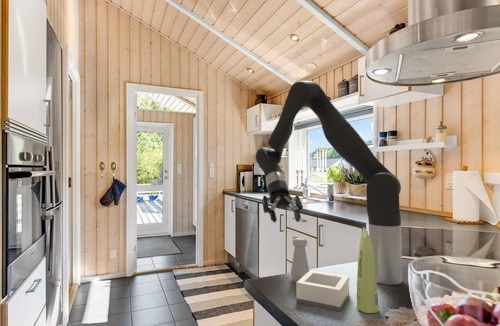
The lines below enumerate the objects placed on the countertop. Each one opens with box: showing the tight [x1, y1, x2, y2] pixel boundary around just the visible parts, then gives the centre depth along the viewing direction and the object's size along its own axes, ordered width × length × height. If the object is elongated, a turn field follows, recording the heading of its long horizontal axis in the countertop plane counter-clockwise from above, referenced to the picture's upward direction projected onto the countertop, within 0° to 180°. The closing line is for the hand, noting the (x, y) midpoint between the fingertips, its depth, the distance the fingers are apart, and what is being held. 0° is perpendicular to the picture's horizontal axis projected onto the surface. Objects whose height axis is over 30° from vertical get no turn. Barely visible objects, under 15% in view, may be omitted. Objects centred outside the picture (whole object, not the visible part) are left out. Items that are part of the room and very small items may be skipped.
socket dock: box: [295, 270, 350, 312], centre depth 80 cm, size 11×11×5 cm
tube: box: [356, 226, 379, 314], centre depth 74 cm, size 6×5×20 cm
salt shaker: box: [290, 237, 310, 283], centre depth 94 cm, size 6×6×13 cm
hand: (286, 220), depth 106 cm, fingers open, 8 cm apart
